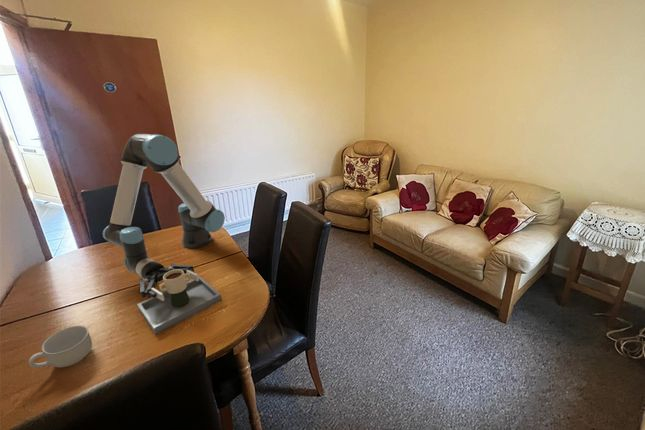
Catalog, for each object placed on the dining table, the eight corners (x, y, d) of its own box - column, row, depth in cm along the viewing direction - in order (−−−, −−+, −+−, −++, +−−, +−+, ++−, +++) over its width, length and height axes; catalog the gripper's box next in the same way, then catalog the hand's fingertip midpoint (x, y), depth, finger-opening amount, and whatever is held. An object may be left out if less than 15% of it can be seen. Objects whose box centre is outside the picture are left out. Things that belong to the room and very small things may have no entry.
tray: (201, 282, 124) (199, 276, 122) (221, 300, 112) (220, 294, 111) (139, 310, 108) (137, 304, 106) (155, 335, 96) (153, 328, 95)
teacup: (93, 338, 95) (85, 319, 92) (99, 357, 88) (90, 337, 85) (36, 364, 86) (25, 344, 83) (37, 388, 79) (25, 367, 76)
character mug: (191, 292, 115) (184, 264, 111) (199, 300, 111) (192, 271, 106) (162, 306, 108) (154, 277, 103) (169, 314, 104) (160, 284, 99)
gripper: (181, 264, 126) (211, 278, 115) (119, 294, 107) (148, 315, 96) (177, 249, 124) (208, 262, 113) (113, 277, 105) (143, 297, 93)
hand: (181, 287), depth 104 cm, fingers open, 13 cm apart
